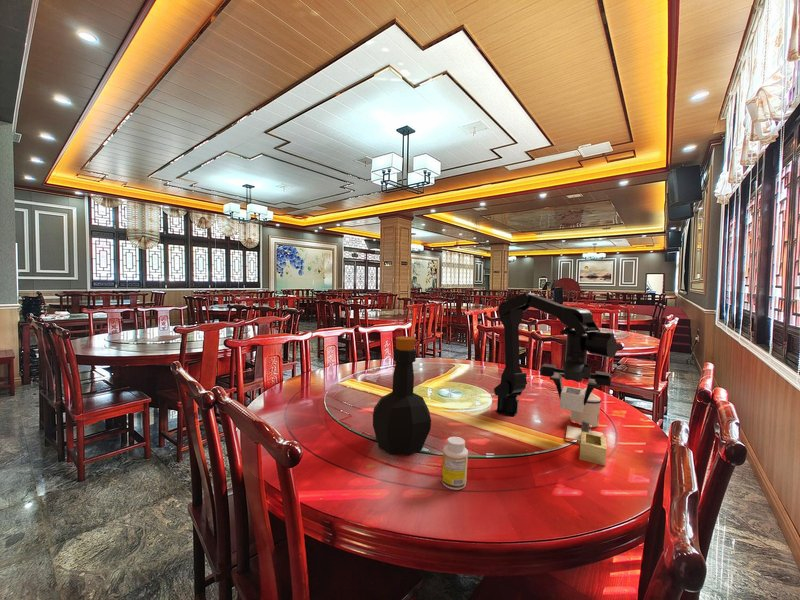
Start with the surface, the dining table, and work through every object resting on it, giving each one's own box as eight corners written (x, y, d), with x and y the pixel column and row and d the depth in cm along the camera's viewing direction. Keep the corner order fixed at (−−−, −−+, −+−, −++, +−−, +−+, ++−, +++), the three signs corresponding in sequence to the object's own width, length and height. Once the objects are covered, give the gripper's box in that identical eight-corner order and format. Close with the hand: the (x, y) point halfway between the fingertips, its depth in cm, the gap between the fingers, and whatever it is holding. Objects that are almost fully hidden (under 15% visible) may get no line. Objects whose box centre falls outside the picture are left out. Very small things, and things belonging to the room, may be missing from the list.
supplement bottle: (449, 474, 86) (452, 432, 86) (470, 484, 83) (473, 440, 82) (436, 484, 82) (439, 440, 82) (457, 494, 79) (460, 448, 78)
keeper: (565, 440, 108) (566, 423, 108) (567, 429, 117) (568, 413, 117) (603, 449, 104) (605, 431, 103) (602, 436, 113) (604, 420, 112)
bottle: (363, 436, 105) (368, 333, 103) (416, 430, 110) (421, 332, 109) (380, 463, 90) (386, 343, 88) (439, 455, 96) (446, 342, 94)
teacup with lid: (604, 428, 119) (607, 394, 118) (576, 427, 119) (579, 392, 118) (586, 415, 131) (589, 383, 130) (561, 413, 131) (563, 381, 130)
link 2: (605, 465, 94) (606, 449, 94) (579, 459, 97) (580, 443, 97) (603, 451, 102) (605, 436, 102) (580, 446, 105) (581, 431, 105)
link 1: (582, 412, 104) (583, 397, 103) (559, 408, 107) (560, 393, 106) (584, 403, 112) (585, 389, 111) (562, 399, 114) (563, 385, 114)
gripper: (539, 350, 106) (535, 403, 107) (613, 360, 97) (608, 417, 98) (544, 345, 115) (541, 393, 116) (612, 353, 106) (608, 406, 107)
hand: (572, 402), depth 109 cm, fingers closed on link 1, 6 cm apart
